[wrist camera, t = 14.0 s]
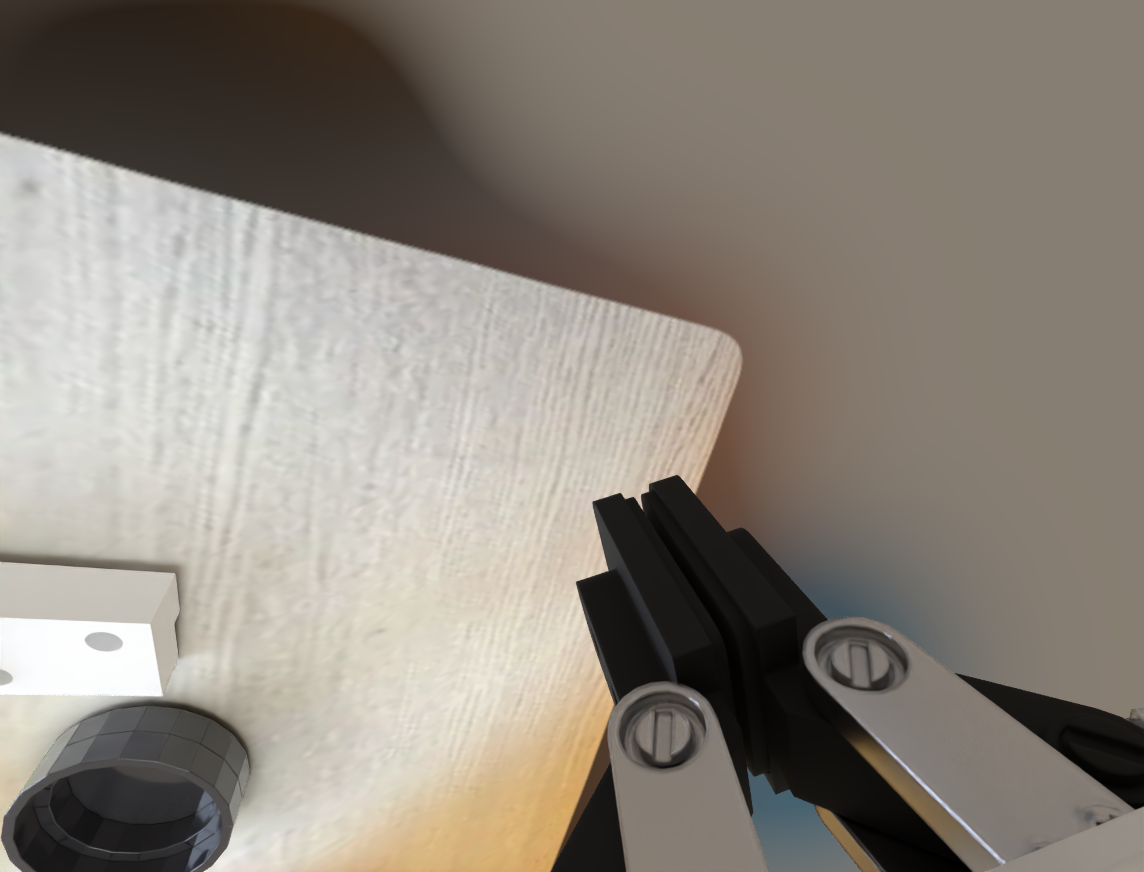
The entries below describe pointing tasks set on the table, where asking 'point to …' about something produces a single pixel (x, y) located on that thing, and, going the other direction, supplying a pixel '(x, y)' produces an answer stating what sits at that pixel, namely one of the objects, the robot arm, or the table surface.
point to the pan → (130, 796)
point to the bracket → (86, 630)
